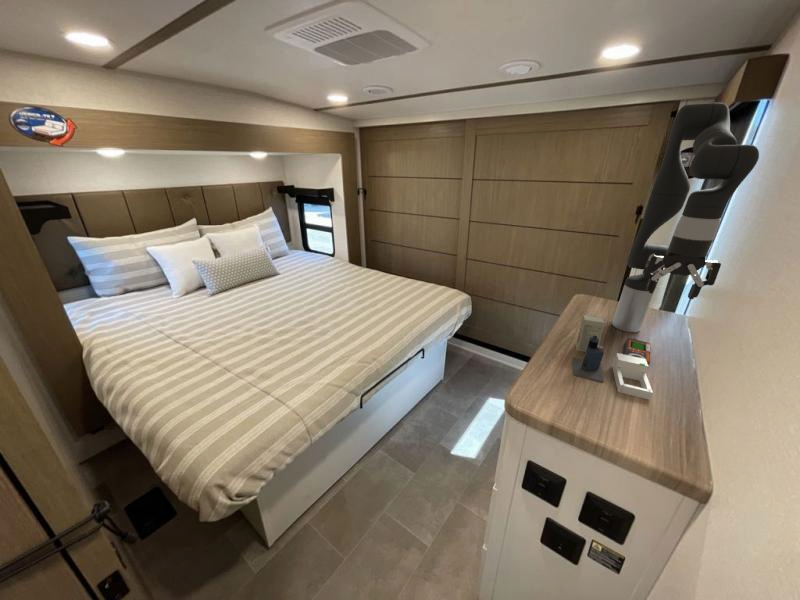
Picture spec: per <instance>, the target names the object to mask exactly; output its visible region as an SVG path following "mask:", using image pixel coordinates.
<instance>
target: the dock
mask: <svg viewBox="0 0 800 600" xmlns="http://www.w3.org/2000/svg"><path fill="white" fill-rule="evenodd" d="M611 366H612V372H613V376H614V380H615V385H616V390H617V391H616V392H617V393H621V394H625V395H629V396H633V397H638V398H641V399H644V400H645V399H646V400H648V401H651V398H652V396H653V393H654V392H653V389H652V387H651V384H650V381H649V379H648V376H647V375H648V374H647V371H648V368H649V366H648V364H647V361H646V359H643V358H638V357H633V356H629V355H625V351H624V352H623V353H618V352H616V354H615V358H614V359H613V362H612V365H611ZM623 378H626V379H630V380H634V381H639V384H640V386H641V387H640V386H636V385H632V384H627V383H624V379H623Z"/></svg>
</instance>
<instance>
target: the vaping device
mask: <svg viewBox="0 0 800 600" xmlns="http://www.w3.org/2000/svg"><path fill="white" fill-rule="evenodd" d="M598 342H599V339H598V338H597V336H593V337H591V338H590V340H589V344H588V347H587V349H586V352H585V353H584V357H583V359H584V360H583V363H582V369H583V370H585V371H597V370H598V369H599V367H600V364H601V365H602V360H603V357H604V353H605V351H604V348H605V347H604V345H600V344H599V345H598Z"/></svg>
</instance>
